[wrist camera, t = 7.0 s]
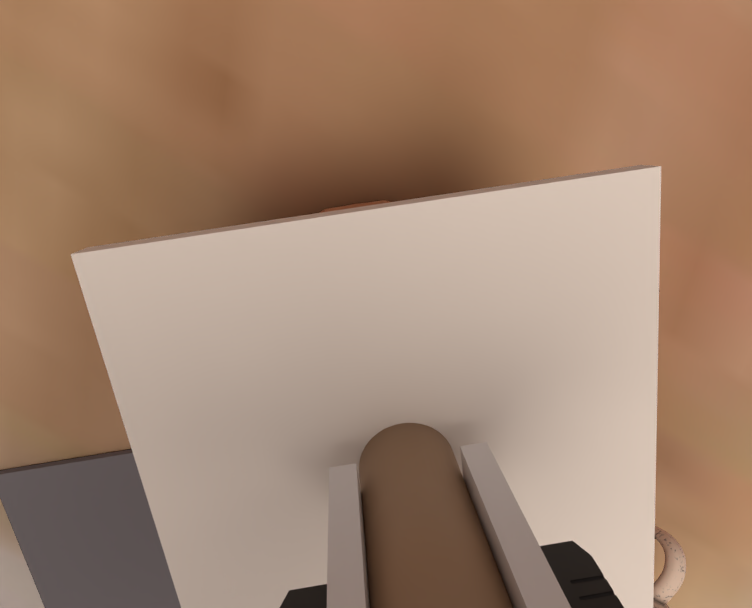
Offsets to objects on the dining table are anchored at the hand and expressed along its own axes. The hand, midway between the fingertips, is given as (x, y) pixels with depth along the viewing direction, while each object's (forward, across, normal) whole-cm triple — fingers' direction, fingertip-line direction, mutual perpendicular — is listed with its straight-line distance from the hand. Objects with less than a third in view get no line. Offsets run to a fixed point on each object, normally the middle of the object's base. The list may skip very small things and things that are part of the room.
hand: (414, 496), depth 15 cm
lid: (+3, 0, 0) cm, 3 cm away
